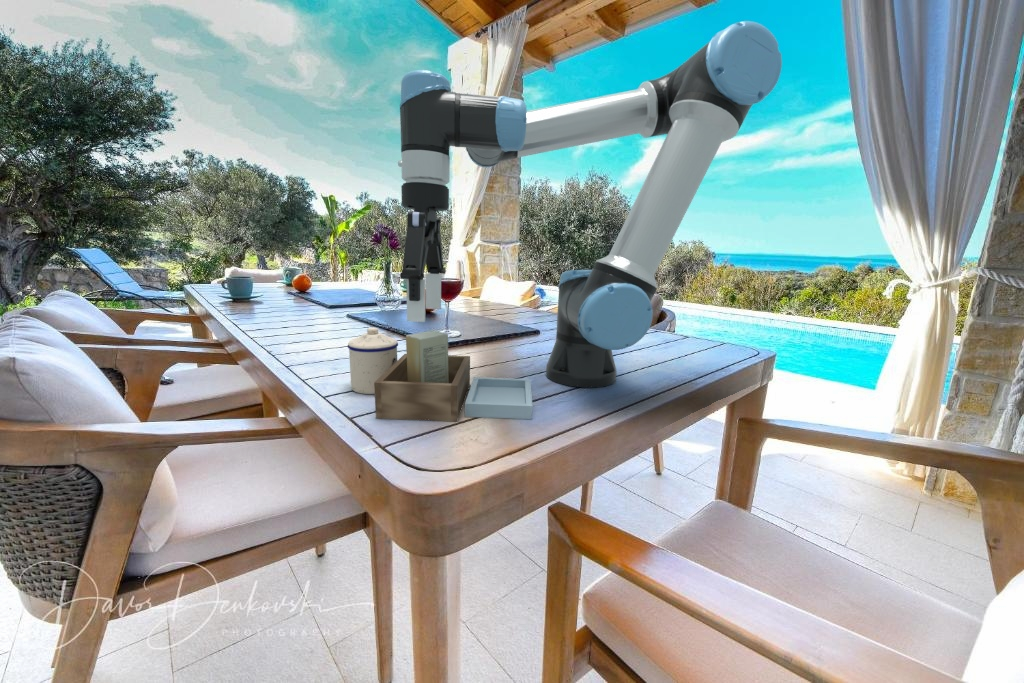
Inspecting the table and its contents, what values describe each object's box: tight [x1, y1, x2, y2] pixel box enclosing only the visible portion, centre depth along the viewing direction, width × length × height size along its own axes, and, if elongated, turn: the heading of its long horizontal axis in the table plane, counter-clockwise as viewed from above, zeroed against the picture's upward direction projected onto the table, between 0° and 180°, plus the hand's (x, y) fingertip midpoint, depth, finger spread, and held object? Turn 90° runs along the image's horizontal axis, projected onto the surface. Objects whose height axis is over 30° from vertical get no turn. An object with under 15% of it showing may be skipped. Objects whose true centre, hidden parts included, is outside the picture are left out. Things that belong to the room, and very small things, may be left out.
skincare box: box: [405, 329, 449, 383], centre depth 74 cm, size 6×4×12 cm
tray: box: [464, 376, 533, 420], centre depth 75 cm, size 11×14×2 cm
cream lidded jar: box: [347, 327, 399, 395], centre depth 80 cm, size 12×9×12 cm
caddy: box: [374, 353, 471, 422], centre depth 74 cm, size 13×18×6 cm
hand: (425, 314), depth 71 cm, fingers open, 13 cm apart
